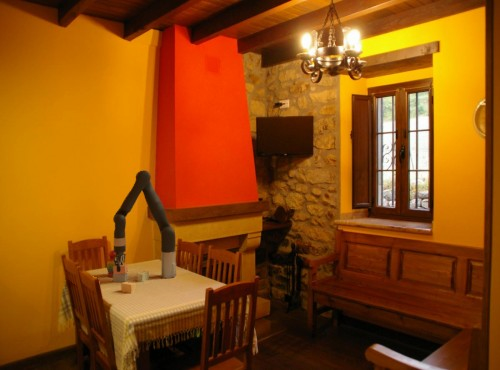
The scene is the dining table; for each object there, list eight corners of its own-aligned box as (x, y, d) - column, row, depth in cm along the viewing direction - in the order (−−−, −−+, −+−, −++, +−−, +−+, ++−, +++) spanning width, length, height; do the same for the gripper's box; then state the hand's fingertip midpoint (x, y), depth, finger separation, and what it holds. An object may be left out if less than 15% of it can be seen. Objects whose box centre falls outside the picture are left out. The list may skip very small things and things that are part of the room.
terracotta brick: (127, 272, 264) (126, 264, 264) (125, 273, 261) (124, 265, 261) (116, 273, 265) (115, 265, 265) (113, 274, 261) (112, 266, 261)
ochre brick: (135, 291, 241) (135, 283, 241) (131, 293, 238) (131, 284, 237) (125, 290, 244) (125, 281, 244) (121, 291, 241) (121, 283, 241)
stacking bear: (119, 277, 272) (118, 251, 272) (104, 277, 273) (104, 251, 272) (124, 273, 283) (124, 248, 283) (110, 273, 284) (109, 248, 283)
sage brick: (144, 278, 270) (143, 271, 270) (148, 278, 269) (148, 271, 269) (137, 281, 262) (137, 274, 262) (142, 282, 262) (142, 274, 261)
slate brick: (127, 280, 265) (127, 272, 264) (125, 281, 261) (124, 274, 261) (115, 280, 265) (115, 272, 265) (113, 282, 262) (113, 274, 262)
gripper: (120, 246, 255) (121, 273, 256) (129, 242, 269) (129, 268, 270) (109, 246, 256) (109, 273, 256) (118, 242, 270) (118, 268, 270)
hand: (119, 270), depth 263 cm, fingers closed on terracotta brick, 3 cm apart
